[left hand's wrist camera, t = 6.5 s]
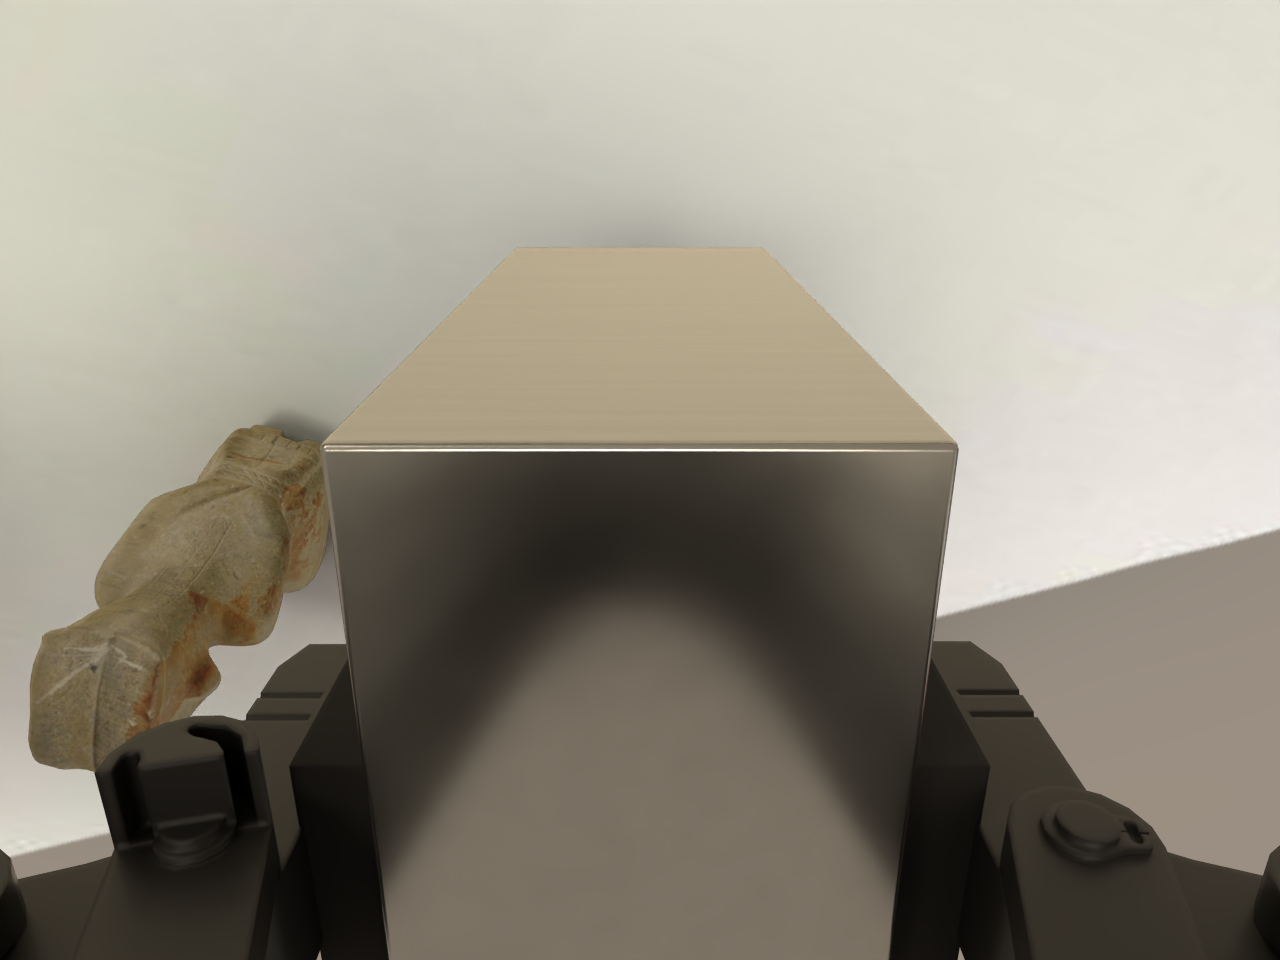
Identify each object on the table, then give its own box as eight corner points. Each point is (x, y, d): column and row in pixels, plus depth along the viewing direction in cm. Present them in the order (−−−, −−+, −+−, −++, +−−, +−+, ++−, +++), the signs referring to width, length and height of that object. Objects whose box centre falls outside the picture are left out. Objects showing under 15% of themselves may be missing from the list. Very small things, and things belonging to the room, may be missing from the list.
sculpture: (202, 539, 40) (-40, 765, 26) (240, 391, 37) (-5, 551, 23) (332, 585, 40) (167, 828, 26) (378, 441, 38) (222, 627, 24)
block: (764, 247, 17) (963, 443, 7) (745, 654, 21) (857, 1223, 10) (514, 247, 17) (316, 443, 7) (534, 654, 21) (421, 1222, 10)
